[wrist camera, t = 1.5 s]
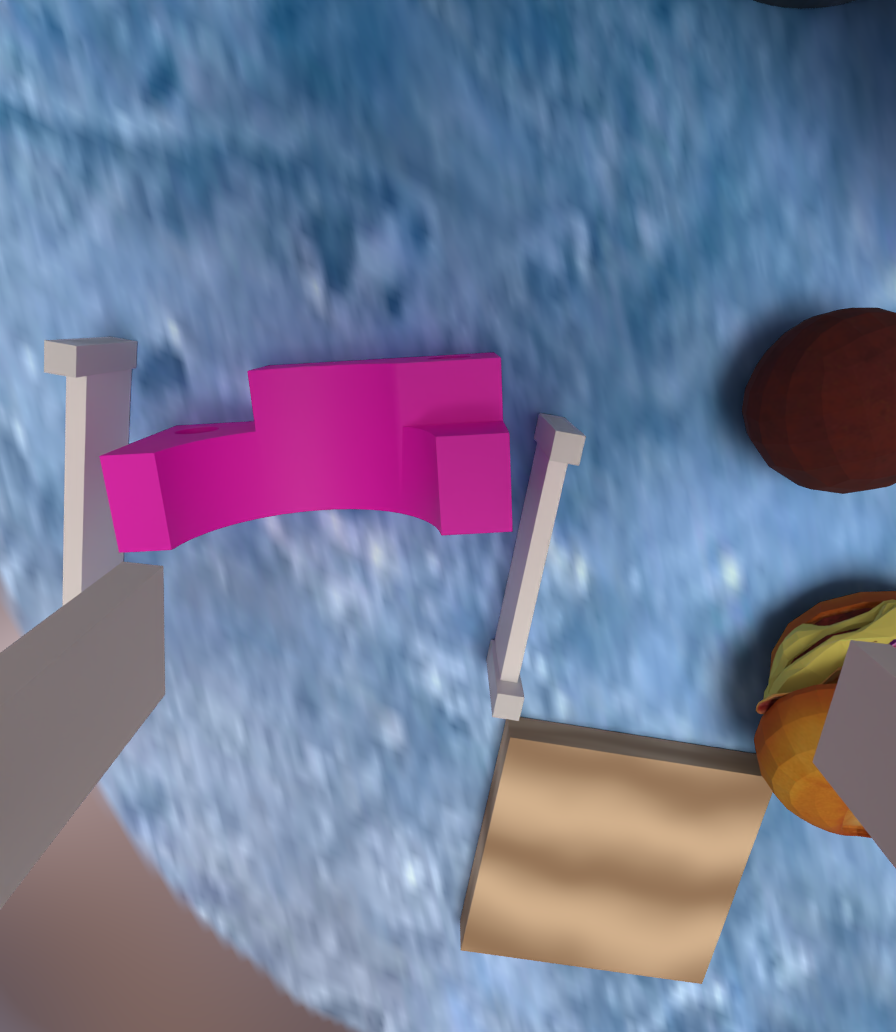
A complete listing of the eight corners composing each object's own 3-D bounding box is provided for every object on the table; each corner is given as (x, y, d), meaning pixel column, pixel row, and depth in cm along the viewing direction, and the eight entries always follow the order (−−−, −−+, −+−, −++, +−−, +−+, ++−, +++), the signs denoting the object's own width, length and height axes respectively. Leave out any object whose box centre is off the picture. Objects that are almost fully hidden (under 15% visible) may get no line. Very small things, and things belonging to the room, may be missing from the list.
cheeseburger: (1022, 676, 33) (1125, 873, 25) (805, 734, 39) (835, 908, 31) (923, 532, 31) (1005, 701, 23) (708, 618, 37) (713, 775, 29)
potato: (860, 282, 30) (979, 271, 23) (897, 442, 32) (1017, 475, 25) (699, 347, 31) (769, 356, 24) (745, 500, 33) (822, 547, 26)
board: (507, 715, 36) (510, 737, 34) (760, 754, 37) (777, 778, 35) (460, 919, 40) (460, 950, 38) (689, 952, 41) (701, 983, 39)
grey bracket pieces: (110, 336, 31) (44, 340, 26) (564, 417, 32) (585, 436, 27) (101, 598, 34) (42, 646, 29) (509, 663, 35) (518, 721, 30)
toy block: (493, 352, 31) (507, 362, 24) (498, 484, 33) (512, 531, 26) (168, 371, 31) (85, 386, 24) (190, 501, 33) (119, 552, 26)
